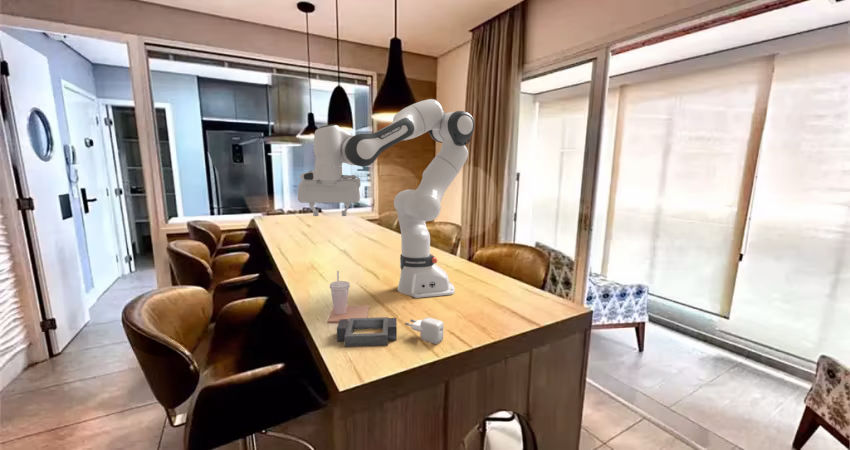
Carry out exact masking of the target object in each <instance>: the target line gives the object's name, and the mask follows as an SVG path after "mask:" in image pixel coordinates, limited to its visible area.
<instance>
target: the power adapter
mask: <svg viewBox="0 0 850 450" xmlns="http://www.w3.org/2000/svg"><path fill="white" fill-rule="evenodd" d="M410 322H411V323H409V322H405V323H404V324H405V326H409V327H411V329H412V330H413V331H417V332H420V334H419V335H420V339H421V341H424V342H426V343H430V344H434V345H438V344H440V343H441V342H442V341H443V340H444V322H443V321H442V320H440V319H437V318H432V317H428V316H427V317H425V318H424V319H417V320H415V319H410Z"/></svg>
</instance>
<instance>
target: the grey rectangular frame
mask: <svg viewBox="0 0 850 450" xmlns="http://www.w3.org/2000/svg"><path fill="white" fill-rule="evenodd" d="M397 328H398V327H397V317H388V316H385V317H378V316H377V317H368V318H349V322H348V319H340V321H339V323H337V327H336V342H337V343H344V348H349V347H354V348H355V347H377V346H378V347H379V346H388V345H389V341H397V337H398V336H397V333H398V332H397ZM355 330H382V332H373V333H372V332H369V333H366V332H365V333H354V331H355Z"/></svg>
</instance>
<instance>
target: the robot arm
mask: <svg viewBox="0 0 850 450" xmlns="http://www.w3.org/2000/svg"><path fill="white" fill-rule="evenodd" d="M475 125H476V124H475V119H474V117H473V116H472V114H470V113H469V112H467V111H464V110H457V111H450V112H445V111H444V109H443V107H442V105H441V104H440V102H439V101H438V100H437V99H433V98H429V99H425V100H420V101H418V102H415V103H413V104H410V105H408V106H406V107H404V108H402V109H401V110H400V111H398V112H397V113H395V114H394V116H393V119H392V123H391V124H389V125H387V126H385V127H383V128H381V129H379V130H377V131H375V132H373V133H358V134H356V135H353V134H351V133H349V132H347V131H345V130H344V129H342V128H341V127H340V126H339V125H337V124H328V125H327V124H326V125H322V126H319V127H318V128H316V130H315V131H314V136H313V137H314V138H313V149H314V150H313V151H314V152H313V153H314V156H315V161H314V170H313V169H312V170H309V171H307V172H304V173H301V174H300V175H299V177H300V180H301V181H300V182H299V183H298V187H297V200H298V202H299V203H300V204H301V203H302V204H303V203H304V204H305V203H306V204H307V203H308V205H309V208H310V209H311V210H312V216H313V217H319V215H320V214H319V213H320V212H319V210H317V209H316V207H315V206H316V203H319V204H323V203H325V204H326V203H327V204H328V203H330V204H338V203H339V204H344V207H345V209H344V210H341V217H347V216H348V215H347V213H348V212H347V211H348V209H349V207H350V206H351V204H356V203H359V202H360V201H361V194H360V188H361V178H360V177H359V176H357V175H355V174H352V175H351V174H350V175H348V174H343V164H347V165H350V166H357V167H368V166H370V165H372V164H374V162H376V160H377V159H378V157H380V155H381V153H382V152H384V151H386V150H388V149H390V147H392V146H394V145H396V144H398V143H400V142H402V141H408V140H413V139H415V138H417V137H419V136H422V135H423V134H426V133H428V134H429V136H430V137H431V138H432V140H434V141H435V142H437V143H441V144H442V145H441V148H440V150H439V152H438V153H437V154H436V155H435V157H434V158H433V159H432V160H431V161H430V163H429V164H428V165H427V167H426V168H425V169H424V170H423V172H422V178H421V181H420V182H419V184H418V187H417V188H416V189H405V190H402V191H399V192H398V193H397V194H396V195H395V197H394V200H393V206H394V209H395V210H396V214H397V219H398V223H399V228H400V237H401V245H400V246H401V254H400V257H399V268H400V275H399V281H398V285H397V289H396V290H397V291H398V293H400V294H404V295H407V296H411V297H413V298H415V299H419V298H429V297H438V296H439V297H440V296H449V295H450V296H451V295H453V294H454V293H456V292H455V291H456V290H455V286H454V284H453V283H452V282H450V279H449V276H448V274H447V272H446V271H445V270H444V269H443V268H441V267H440V266H439V265H437V262H438V259H437V257H436V256H435V255H434V254H431V235H430V234H431V233H430V231H429V229H428V228H427V224H426V222H432V221H434V220H436V219H437V218H438V217H439V215H440V214H441V211H442V210H441V208H442V205H441V202H442V200H443V197H444V195H445V193H446V191H447V190H448V188H449V187H450V185H451V184H452V182H453V181H454V180H455V178H456V177H458V176H457V175H458V174H459V173H460V171H461V170H462V168H463V166H464V165H465V163H466V161H467V159H468V158H469V151H468V148H467V144H469V143H470V142H471V137H473V134H474V131H475Z"/></svg>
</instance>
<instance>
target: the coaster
mask: <svg viewBox="0 0 850 450" xmlns="http://www.w3.org/2000/svg"><path fill="white" fill-rule="evenodd" d="M369 310H370V305H369V304H365V305H363V304H362V305H360V304H359V305H347V308H346V313H345V314H342V315H337V314H335V313H334V307H332V309H331V312H330V314H329V316H328V318H327V321H326V324H328V325H330V324H338V323H339V321H340V319H348V322H349V318H369V317H368V316H369Z"/></svg>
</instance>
